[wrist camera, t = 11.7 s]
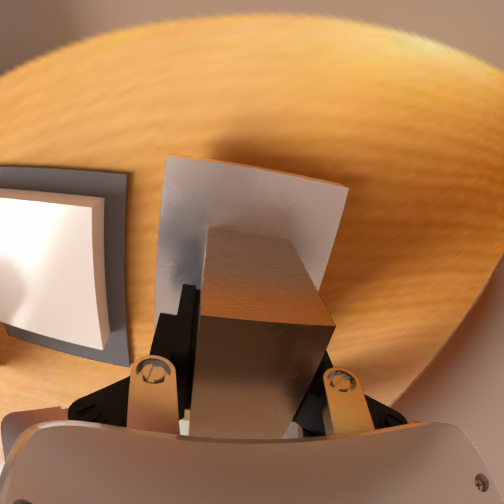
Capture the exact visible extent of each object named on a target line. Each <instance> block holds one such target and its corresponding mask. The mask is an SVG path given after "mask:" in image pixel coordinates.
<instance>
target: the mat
mask: <svg viewBox="0 0 504 504" xmlns="http://www.w3.org/2000/svg"><path fill="white" fill-rule="evenodd" d="M127 187H128V174H127V173H117V172H106V171H94V170H81V169H66V168H49V167H27V166H0V188H4V189H17V190H29V191H41V192H52V193H62V194H73V195H82V196H92V197H101V198H105V200H104V258H105V280H106V295H107V307H108V317H109V326H110V335H109V337H108V340H107V342H106V344H105V347H104V349H103V350H99V349H95V348H91V347H86V346H82V345H78V344H74V343H70V342H66V341H62V340H59V339H55V338H51V337H48V336H44V335H41V334H37V333H34V332H31V331H28V330H24V329H21V328H18V327H15V326H12V325H9V324H6V323H4V324H5V327H6V330H7V333H8V335H9V336H12V337H15V338H18V339H21V340H24V341H27V342H30V343H33V344H36V345H40V346H43V347H46V348H50V349H53V350H57V351H60V352H64V353H68V354H71V355H75V356H79V357H83V358H87V359H91V360H96V361H100V362H105V363H109V364H114V365H119V366H124V367H129V368H130V365H131V363H130V353H129V342H128V330H127V314H126V292H125V225H126V202H127Z"/></svg>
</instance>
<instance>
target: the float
mask: <svg viewBox="0 0 504 504" xmlns="http://www.w3.org/2000/svg"><path fill="white" fill-rule="evenodd" d="M348 191H349V188H348V187H346V186H344V185H343V184H340V183H335V182H331V181H327V180H322V179H318V178H313V177H308V176H304V175H299V174H294V173H289V172H284V171H279V170H274V169H268V168H263V167H257V166H251V165H246V164H240V163H233V162H227V161H220V160H214V159H207V158H199V157H192V156H184V155H176V154H169V155H168V156H167V158H166V165H165V173H164V182H163V191H162V200H161V210H160V221H159V234H158V248H157V265H156V287H155V330H156V326H157V322H158V319H159V315H160V313H167V314H174V315H177V312H178V307H179V301H180V296H181V291H182V286H183V284H189V285H196V289H200V301H199V312H198V324H197V337H196V350H195V362H194V372H193V382H192V394H191V405H190V410H189V426H188V436H196V437H209V438H229V439H282V438H283V436H284V434H285V432H286V430H287V429H288V427H289V425H290V423H291V421H292V419H293V417H294V415H295V413H296V411H297V410H298V408H299V406H300V404H301V402H302V400H303V398H304V396H305V394H306V392H307V389H308V387H309V385H310V383H311V381H312V379H313V377H314V375H315V373H316V371H317V368H318V366H319V364H320V362H321V360H322V357H323V355H324V353H325V351H326V348H327V346H328V344H329V341H330V339H331V337H332V334H333V332H334V330H335V327H336V325H335V323H334V321H333V319H332V317H331V316H330V314H329V312H328V310H327V308H326V306H325V304H324V302H323V300H322V298H321V296H320V295H319V293H318V291H319V288H320V285H321V282H322V279H323V276H324V273H325V270H326V267H327V264H328V260H329V257H330V254H331V251H332V247H333V244H334V241H335V237H336V234H337V231H338V227H339V224H340V220H341V217H342V213H343V209H344V206H345V202H346V199H347V195H348Z"/></svg>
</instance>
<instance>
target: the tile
mask: <svg viewBox="0 0 504 504" xmlns="http://www.w3.org/2000/svg"><path fill="white" fill-rule="evenodd" d="M104 200H105V198H101V197H92V196H82V195H73V194H62V193H52V192H41V191H29V190H17V189H4V188H0V322H3V323H6V324H9V325H12V326H15V327H18V328H21V329H24V330H28V331H31V332H34V333H37V334H41V335H44V336H48V337H51V338H55V339H59V340H62V341H66V342H70V343H74V344H78V345H82V346H86V347H91V348H95V349H99V350H103V349H104V347H105V344H106V342H107V340H108V337H109V335H110V326H109V317H108V307H107V295H106V280H105V258H104Z"/></svg>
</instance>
